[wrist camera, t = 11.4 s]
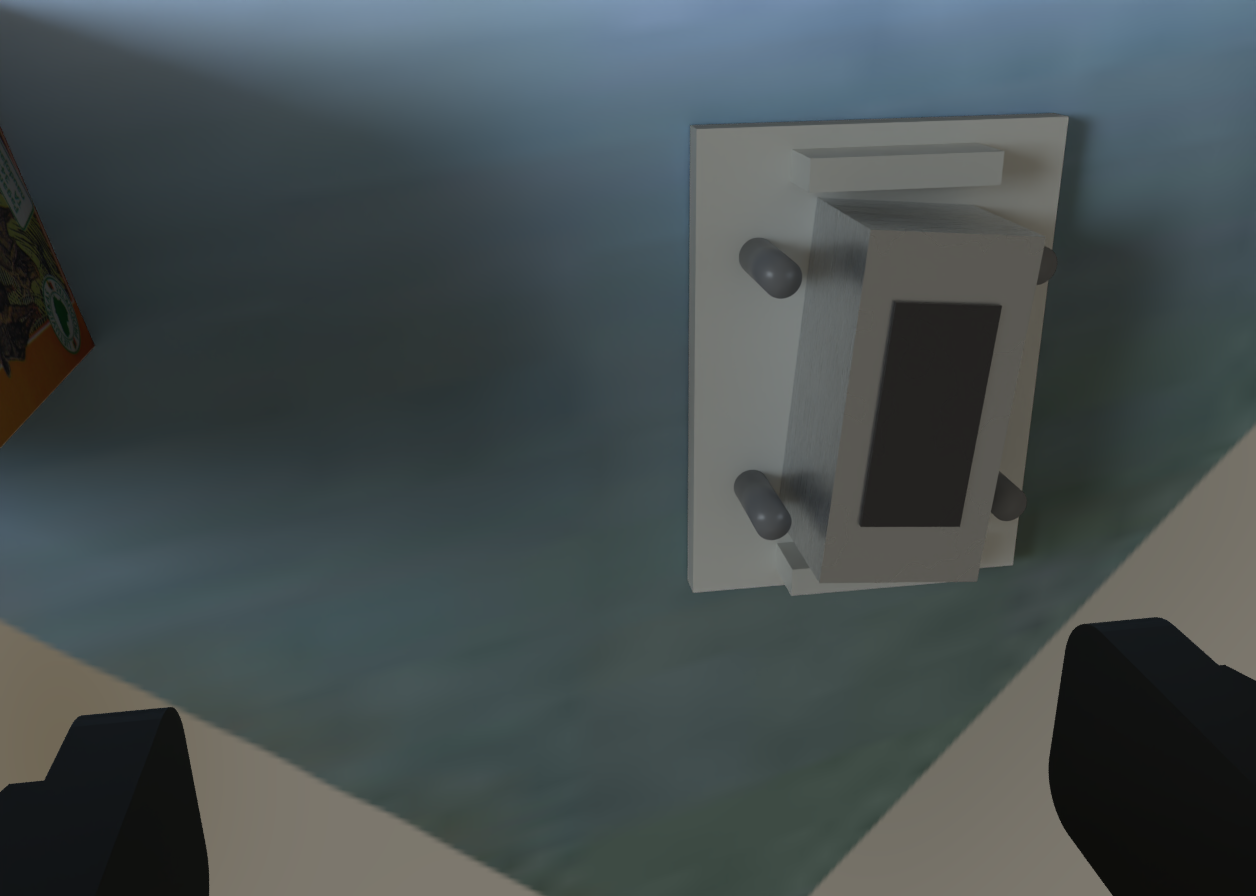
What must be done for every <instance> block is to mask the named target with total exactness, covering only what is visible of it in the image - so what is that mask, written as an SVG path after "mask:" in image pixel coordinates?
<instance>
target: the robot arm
mask: <svg viewBox="0 0 1256 896" xmlns="http://www.w3.org/2000/svg"><path fill="white" fill-rule="evenodd" d="M1049 783H1050V789H1051V795H1052V799H1053V803H1054V806H1055V809H1056V812H1057V814H1058V816H1059V819H1060V821H1061V823H1062V825H1063V827H1064V829H1065V830H1066V832H1067V833H1068V835H1069V836H1070V837H1071V839H1072V840H1073V842H1074V843H1075V844H1076V846H1077V847H1078V849H1079V850H1080V851H1081V853H1082V854H1083V855H1084V857H1085V858H1086V859H1087V861H1088V862H1089V864H1090V865H1091V866H1092V868H1093V869H1094V871H1095V872H1096V873H1097V875H1098V876H1099V877H1100V879H1101V880H1102V882H1103V883H1104V884H1105V886H1106V887H1107V888H1108V890H1109V891H1110V892H1111V894H1112V895H1113V896H1256V681H1255V680H1253V679H1251V678H1249V677H1247V676H1245V675H1243V674H1241V673H1239V672H1238V671H1236V670H1234V669H1232V668H1230V667H1228V666H1226V665H1218V664H1217V663H1215V662H1214V661H1213V660H1212V659H1211V658H1210V657H1209V656H1208V655H1206V654H1205V653H1204V652H1203V651H1202V650H1201V649H1200V648H1199V647H1198V646H1196V645H1195V644H1194V643H1193V642H1192V641H1191V640H1190V639H1189V638H1187V637H1186V636H1185V635H1184V634H1183V633H1182V632H1181V631H1180V630H1178V629H1177V628H1176V627H1175V626H1174V625H1173V624H1171V623H1170V622H1169V621H1167V620H1165V619H1163V618H1158V617H1154V618H1144V619H1132V620H1122V621H1111V622H1100V623H1090V624H1082V625H1079V626H1077V627H1076V628H1075V629H1074V630H1073V631H1072V633H1071V634H1070V636H1069V639H1068V642H1067V645H1066V650H1065V656H1064V663H1063V670H1062V676H1061V683H1060V689H1059V697H1058V703H1057V710H1056V717H1055V724H1054V730H1053V737H1052V744H1051V750H1050V757H1049ZM0 896H209V867H208V857H207V850H206V844H205V839H204V834H203V828H202V823H201V818H200V812H199V808H198V802H197V797H196V791H195V786H194V781H193V775H192V770H191V765H190V760H189V754H188V749H187V744H186V738H185V734H184V729H183V725H182V721H181V718H180V716H179V714H178V712H177V711H176V709H174V708H173V707H167V708H157V709H147V710H135V711H125V712H114V713H105V714H104V713H103V714H93V715H82V716H79V717H78V718H77V719H76V720H75V721H74V722H73V724H72V725H71V727H70V729H69V731H68V733H67V735H66V737H65V740H64V741H63V744H62V745H61V748H60V750H59V752H58V754H57V756H56V758H55V760H54V762H53V764H52V766H51V768H50V770H49V772H48V774H47V776H46V778H45V780H44V781H36V782H25V783H16V784H9V785H8V786H6V787H5V788H4V789H3V790H2V791H1V792H0Z"/></svg>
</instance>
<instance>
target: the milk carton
mask: <svg viewBox="0 0 1256 896" xmlns="http://www.w3.org/2000/svg"><path fill="white" fill-rule="evenodd" d="M94 347H95V345H94V343H93V341H92V338H91V336H90V334H89V331H88V329H87V327H86V324H85V322H84V320H83V317H82V315H81V313H80V310H79V308H78V306H77V303H76V301H75V299H74V297H73V294H72V292H71V290H70V287H69V285H68V283H67V280H66V278H65V276H64V273H63V271H62V269H61V266H60V264H59V262H58V259H57V257H56V255H55V252H54V250H53V248H52V245H51V243H50V241H49V238H48V236H47V234H46V232H45V229H44V227H43V225H42V222H41V220H40V218H39V215H38V213H37V211H36V208H35V206H34V204H33V201H32V199H31V197H30V194H29V192H28V190H27V187H26V185H25V183H24V180H23V178H22V176H21V173H20V171H19V169H18V166H17V164H16V162H15V160H14V157H13V155H12V153H11V150H10V148H9V146H8V143H7V141H6V139H5V136H4V134H3V132H2V129H1V127H0V448H1V447H2V446H3V445H4V444H5V443H6V442H7V441H8V440H9V439H10V437H11V436H12V435H13V434H14V433H15V432H16V431H17V430H18V429H19V428H20V427H21V426H22V425H23V423H24V422H25V421H26V420H27V419H28V418H29V417H30V416H31V415H32V414H33V413H34V412H35V410H36V409H37V408H38V407H39V406H40V405H41V404H42V403H43V402H44V401H45V400H46V399H47V398H48V396H49V395H50V394H51V393H52V392H53V391H54V390H55V389H56V388H57V387H58V386H59V385H60V383H61V382H62V381H63V380H64V379H65V378H66V377H67V376H68V375H69V374H70V373H71V372H72V371H73V369H74V368H75V367H76V366H77V365H78V364H79V363H80V362H81V361H82V360H83V359H84V358H85V357H86V355H87V354H88V353H89V352H90V351H91V350H92V349H93V348H94Z"/></svg>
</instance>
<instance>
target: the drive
mask: <svg viewBox="0 0 1256 896" xmlns="http://www.w3.org/2000/svg"><path fill="white" fill-rule="evenodd" d="M1045 240H1046V237H1045V236H1043V235H1041V234H1038V233H1036V232H1034V231H1032V230H1029V229H1027V228H1025V227H1022V226H1020V225H1018V224H1015V223H1013V222H1011V221H1009V220H1006V219H1004V218H1002V217H999V216H997V215H995V214H993V213H990V212H988V211H986V210H983V209H981V208H979V207H976V206H974V205H968V204H946V203H924V202H902V201H880V200H858V199H836V198H817V203H816V210H815V218H814V226H813V234H812V242H811V250H810V258H809V266H808V273H807V281H806V289H805V297H804V305H803V313H802V321H801V329H800V336H799V344H798V352H797V360H796V368H795V376H794V384H793V391H792V399H791V407H790V415H789V423H788V431H787V439H786V447H785V454H784V462H783V470H782V478H781V486H780V494H779V498H780V500H781V501H782V503H783V504H784V506H785V507H786V509H787V510H788V512H789V514H790V515H791V519H792V524H791V527H790V529H789V531H788V534H789V535H790V537H791V538H792V540H793V542H794V543H795V545H796V546H797V548H798V550H799V551H800V553H801V555H802V556H803V558H804V559H805V561H806V563H807V564H808V566H809V567H810V569H811V571H812V572H813V574H814V575H815V577H816V579H817V580H818V582H819V583H897V582H977V578H978V573H979V568H980V563H981V558H982V553H983V548H984V543H985V538H986V533H987V528H988V523H989V518H990V513H991V509H992V504H993V499H994V494H995V489H996V484H997V479H998V474H999V469H1000V464H1001V459H1002V454H1003V449H1004V444H1005V439H1006V434H1007V429H1008V424H1009V419H1010V414H1011V409H1012V404H1013V399H1014V394H1015V389H1016V384H1017V379H1018V374H1019V369H1020V364H1021V359H1022V354H1023V349H1024V344H1025V339H1026V334H1027V329H1028V324H1029V319H1030V314H1031V309H1032V304H1033V299H1034V295H1035V290H1036V285H1037V280H1038V275H1039V270H1040V265H1041V260H1042V255H1043V250H1044V245H1045Z"/></svg>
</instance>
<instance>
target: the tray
mask: <svg viewBox="0 0 1256 896" xmlns="http://www.w3.org/2000/svg"><path fill="white" fill-rule="evenodd" d="M1068 119H1069V117H1068V116H1064V115H1060V114H1055V113H1043V114H1012V115H982V116H951V117H921V118H891V119H860V120H830V121H799V122H769V123H739V124H708V125H690V244H689V412H688V582H689V584H690V587H691V589H692V592H693V593H696V592H707V591H719V590H730V589H742V588H754V587H765V586H777V585H785V586H786V587H787V589H788V591H789V593H790V595H791V596H795V595H806V594H817V593H829V592H840V591H852V590H863V589H875V588H886V587H898V586H909V585H920V584H932V583H943V582H897V583H819V582H818V580H817V579H816V577H815V575H814V574H813V572H812V571H811V569H810V567H809V566H808V564H807V563H806V561H805V559H804V558H803V556H802V555H801V553H800V551H799V550H798V548H797V546H796V545H795V543H794V542H793V540H792V538H791V537H790V535H789V534H788V531H789V529H790V527H791V524H792V519H791V515H790V514H789V512H788V510H787V509H786V507H785V506H784V504H783V503H782V501H781V500H780V498H779V494H780V486H781V478H782V470H783V462H784V454H785V447H786V439H787V431H788V423H789V415H790V407H791V399H792V391H793V384H794V376H795V368H796V360H797V352H798V344H799V336H800V329H801V321H802V313H803V305H804V297H805V289H806V281H807V273H808V266H809V258H810V250H811V242H812V234H813V226H814V218H815V210H816V203H817V198H836V199H858V200H880V201H902V202H924V203H946V204H968V205H974V206H976V207H979V208H981V209H983V210H986V211H988V212H990V213H993V214H995V215H997V216H999V217H1002V218H1004V219H1006V220H1009V221H1011V222H1013V223H1015V224H1018V225H1020V226H1022V227H1025V228H1027V229H1029V230H1032V231H1034V232H1036V233H1038V234H1041V235H1043V236H1045V237H1046V240H1045V245H1044V250H1043V255H1042V260H1041V265H1040V270H1039V275H1038V280H1037V285H1036V290H1035V295H1034V299H1033V304H1032V309H1031V314H1030V319H1029V324H1028V329H1027V334H1026V339H1025V344H1024V349H1023V354H1022V359H1021V364H1020V369H1019V374H1018V379H1017V384H1016V389H1015V394H1014V399H1013V404H1012V409H1011V414H1010V419H1009V424H1008V429H1007V434H1006V439H1005V444H1004V449H1003V454H1002V459H1001V464H1000V469H999V474H998V479H997V484H996V489H995V494H994V499H993V504H992V509H991V513H990V518H989V523H988V528H987V533H986V538H985V543H984V548H983V553H982V558H981V563H980V568H986V567H998V566H1009V565H1013V559H1014V551H1015V543H1016V535H1017V527H1018V519H1019V516H1020V515H1021V514H1022V513H1023V512H1024V510H1025V508H1026V505H1027V498H1026V495H1025V494H1024V492H1023V491H1022V487H1023V479H1024V471H1025V463H1026V455H1027V447H1028V439H1029V431H1030V423H1031V415H1032V407H1033V399H1034V391H1035V383H1036V375H1037V367H1038V359H1039V351H1040V343H1041V335H1042V327H1043V319H1044V311H1045V303H1046V295H1047V287H1048V280H1049V279H1050V278H1051V277H1052V276H1053V275H1054V273H1055V271H1056V268H1057V257H1056V255H1055V253H1054V252H1053V250H1052V247H1053V239H1054V231H1055V223H1056V215H1057V207H1058V199H1059V191H1060V183H1061V175H1062V167H1063V159H1064V151H1065V143H1066V135H1067V127H1068Z"/></svg>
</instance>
